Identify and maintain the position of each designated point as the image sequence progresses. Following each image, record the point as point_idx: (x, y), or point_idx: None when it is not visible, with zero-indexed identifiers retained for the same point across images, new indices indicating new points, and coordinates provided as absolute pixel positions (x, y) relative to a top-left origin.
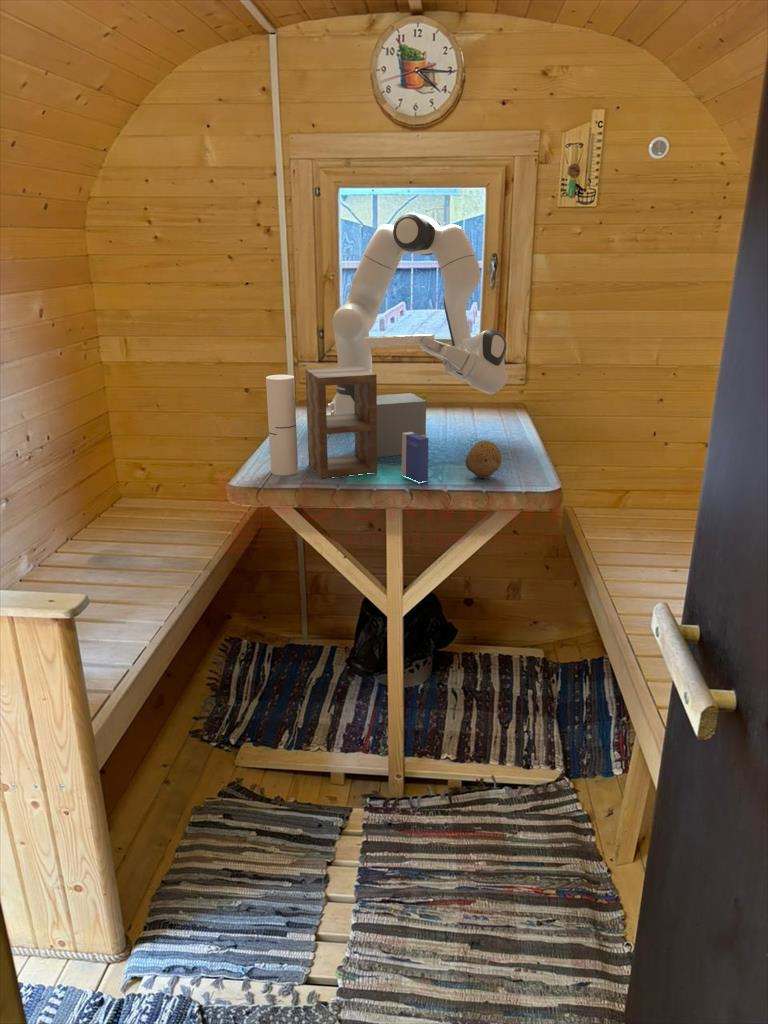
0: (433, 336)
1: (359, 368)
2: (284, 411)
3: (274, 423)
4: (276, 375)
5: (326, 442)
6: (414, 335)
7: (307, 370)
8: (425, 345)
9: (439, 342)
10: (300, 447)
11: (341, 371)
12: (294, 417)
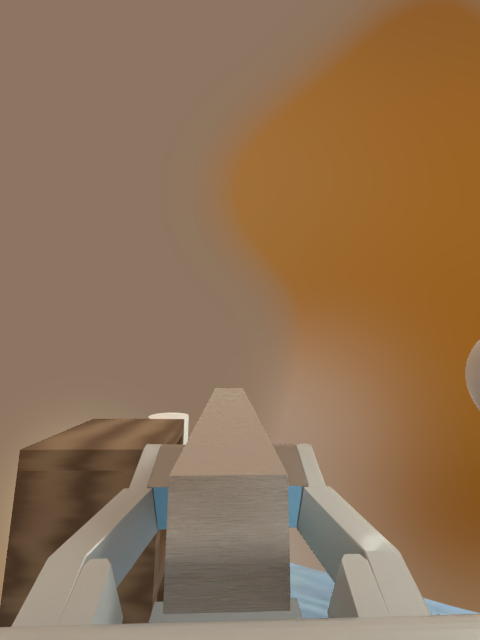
0: (171, 488)
1: (127, 445)
2: None
3: None
4: (183, 415)
5: None
6: (222, 420)
7: (168, 419)
8: (331, 601)
9: (68, 624)
10: (307, 617)
11: (120, 431)
12: None
